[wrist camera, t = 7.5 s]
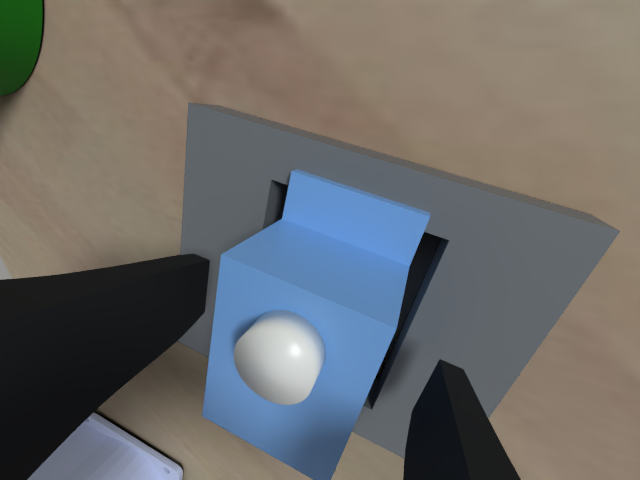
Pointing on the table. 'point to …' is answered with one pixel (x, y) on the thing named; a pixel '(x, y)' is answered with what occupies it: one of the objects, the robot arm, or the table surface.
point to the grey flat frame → (445, 269)
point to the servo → (309, 320)
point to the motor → (18, 41)
